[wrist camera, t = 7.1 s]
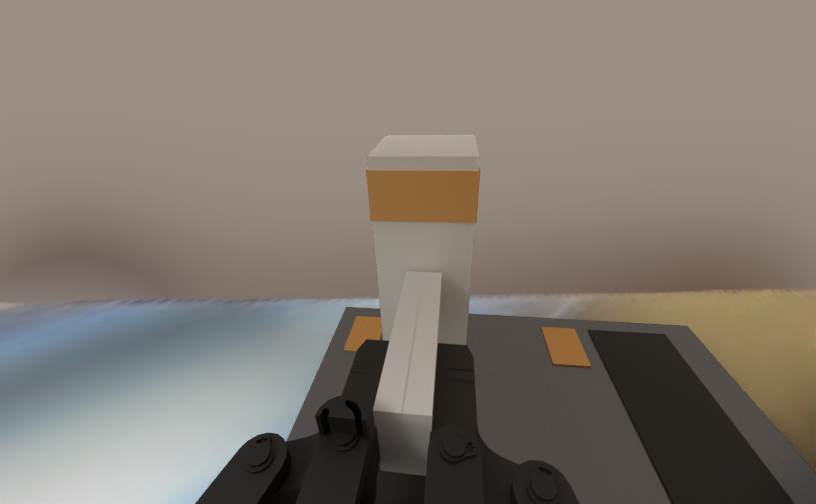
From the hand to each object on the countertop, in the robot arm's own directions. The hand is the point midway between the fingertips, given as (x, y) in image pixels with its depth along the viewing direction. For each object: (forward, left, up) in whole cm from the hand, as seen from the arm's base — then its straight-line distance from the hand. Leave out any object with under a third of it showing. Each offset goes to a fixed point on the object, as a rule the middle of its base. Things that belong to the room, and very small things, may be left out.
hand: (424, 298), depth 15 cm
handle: (0, +2, -5) cm, 6 cm away
